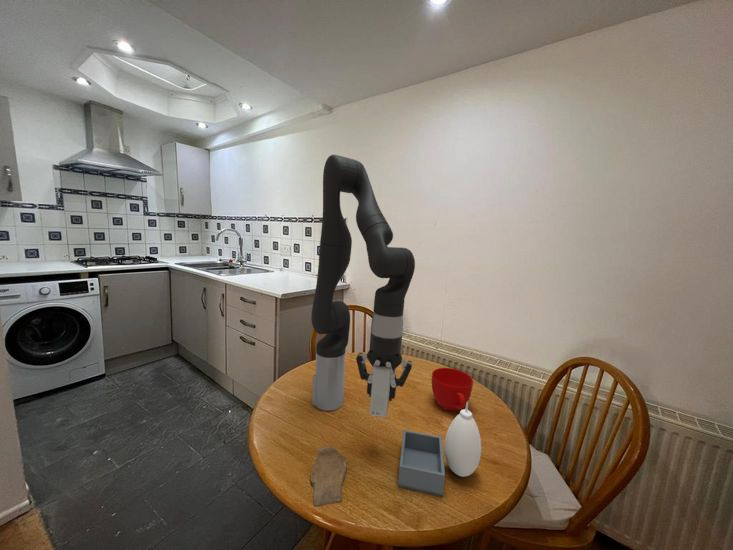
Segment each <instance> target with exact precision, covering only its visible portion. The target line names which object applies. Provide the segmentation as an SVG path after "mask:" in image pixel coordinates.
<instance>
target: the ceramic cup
mask: <svg viewBox="0 0 733 550" xmlns="http://www.w3.org/2000/svg"><path fill="white" fill-rule="evenodd" d="M473 385H474V380H473V378H472V377H471V375H470V374H468V373H466V372H464V371H462V370H460V369H456V368H452V367H451V368H450V367H439V368H435V369H434V370H433V371H432V372H431V390H432V394H433V397H434V399H435V400H436V402H437V403H438V404H439V406H440V407H441V408H442V409H444V410H446V411H450V412H457V411H459V410H463V409H465V407H466V403H467V401H469V400H470V398H471V395H472V391H473Z"/></svg>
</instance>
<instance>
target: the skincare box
mask: <svg viewBox="0 0 733 550" xmlns="http://www.w3.org/2000/svg"><path fill="white" fill-rule="evenodd" d="M372 368H373V367H372ZM390 378H391V369H387V368H386V367H383V366H379V367H374V368H373V376H372V389H371V397H370V404H369V415H370V416H375V417H379V418H383V419H384V418H385V419H386V418H387V415H388V410H389V406H390V401H389V392H390V385H391V383H390V380H391V379H390Z"/></svg>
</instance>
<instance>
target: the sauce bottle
mask: <svg viewBox="0 0 733 550" xmlns="http://www.w3.org/2000/svg"><path fill="white" fill-rule="evenodd" d="M468 401H469V400H468ZM468 401H467V403H466V404H465V408H463V409H460V411H459V414H457V415H456V416H455V418H453V420H452V421H451V423H450V425H449V427H448V428H447V431H446V434H445V439H444V449H443V452H444V455H445V460H446V464H447V465H448V467H449V469H450V470H451V471H452V472H454V474H455V475H457V476H459V477H462V478H463V477H464V478H465V477H468V476H471V475H472V474H473V473H474V472H475V471H476V469H477V467H479V464H480V461H481V456H482V439H481V435H480V430H479V427H478V424H477V422H476V420H475V419H474V417H473V413H472V412H471V411H470V410H469V409H468V408H469V402H468Z"/></svg>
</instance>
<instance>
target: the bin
mask: <svg viewBox="0 0 733 550" xmlns="http://www.w3.org/2000/svg"><path fill="white" fill-rule="evenodd" d="M442 439H443V438H442V436H439V435H435V434H434V435H433V434H429V433H424V432H423V433H422V432H417V431H412V430H406V429H403V433H402V441H401V450H400V457H399V458H400V459H399V471H398V482H397V483H398V484H397V487H398V488H401V489H406V490H410V491H414V492H419V493H424V494H429V495H432V496H437V497H440V498H441V497H443V498H444V489H445V488H444V487H445V479H446V478H445V477H446V473H445V472H446V471H445V463H444V462H445V461H444V449H443V440H442Z"/></svg>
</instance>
